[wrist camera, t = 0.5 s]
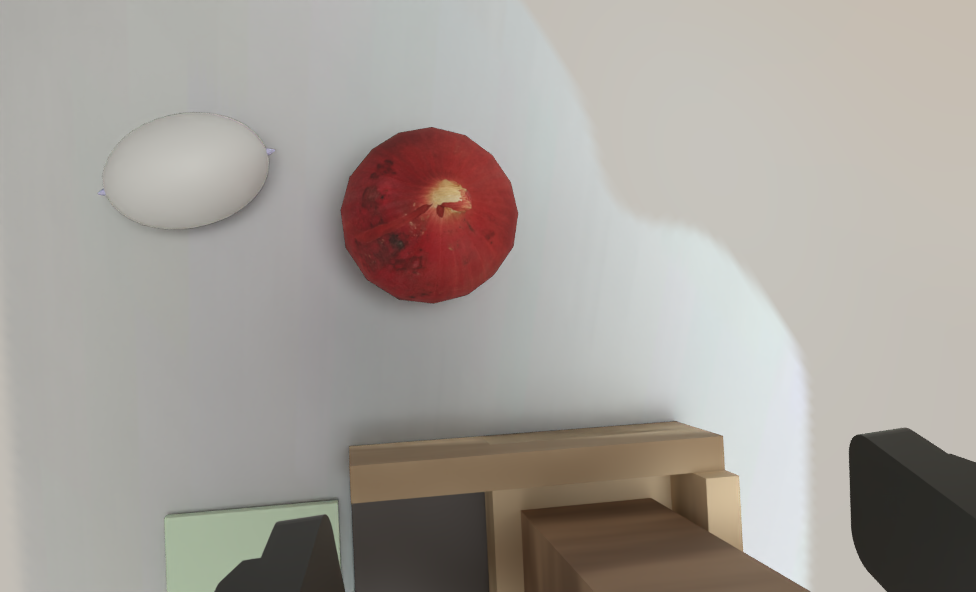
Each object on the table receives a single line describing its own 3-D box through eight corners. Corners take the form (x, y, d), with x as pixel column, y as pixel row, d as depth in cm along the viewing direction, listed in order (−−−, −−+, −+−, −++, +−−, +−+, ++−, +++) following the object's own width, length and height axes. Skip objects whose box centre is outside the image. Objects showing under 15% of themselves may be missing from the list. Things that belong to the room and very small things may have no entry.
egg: (294, 210, 29) (286, 194, 25) (130, 253, 28) (95, 243, 24) (265, 111, 29) (253, 80, 25) (98, 150, 28) (59, 124, 24)
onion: (399, 334, 29) (417, 340, 21) (312, 207, 29) (298, 165, 21) (522, 250, 30) (583, 226, 22) (439, 126, 30) (472, 57, 22)
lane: (688, 668, 31) (752, 734, 26) (360, 713, 29) (363, 795, 24) (675, 421, 31) (736, 440, 26) (349, 446, 29) (349, 472, 24)
